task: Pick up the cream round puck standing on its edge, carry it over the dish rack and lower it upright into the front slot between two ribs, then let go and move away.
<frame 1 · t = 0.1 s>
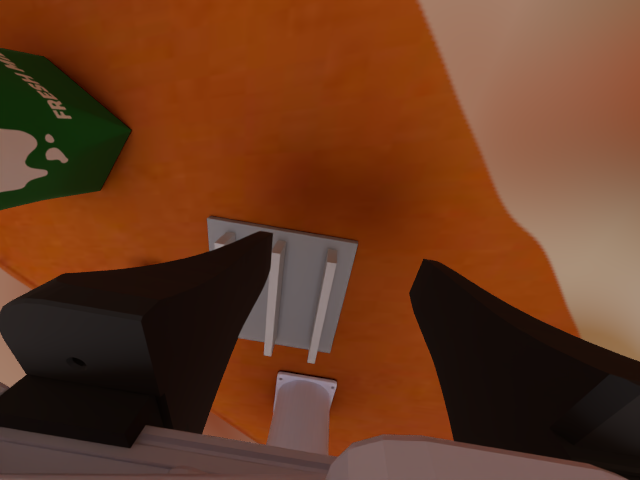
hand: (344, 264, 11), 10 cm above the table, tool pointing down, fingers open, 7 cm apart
milk carton: (78, 131, 19), on the table
dish rack: (278, 291, 25), on the table
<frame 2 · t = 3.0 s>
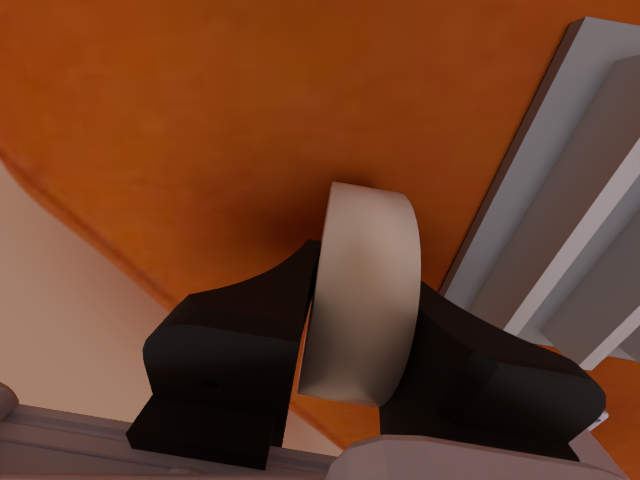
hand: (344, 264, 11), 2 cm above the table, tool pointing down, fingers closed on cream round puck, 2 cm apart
cream round puck: (342, 241, 13), on the table, touching gripper
dish rack: (610, 235, 12), on the table
when the fingers open (4 cm above the table, at t = 6.7 s): cream round puck stays where it is, resting on dish rack.
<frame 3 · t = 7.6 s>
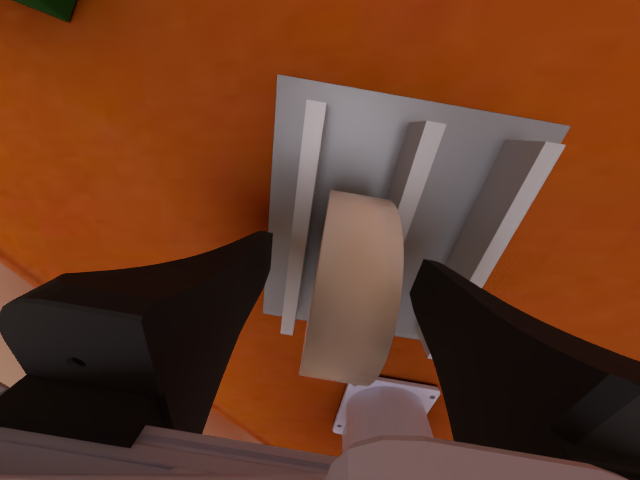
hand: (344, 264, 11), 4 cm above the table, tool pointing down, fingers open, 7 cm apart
cream round puck: (340, 242, 14), point 1 cm above the table, touching dish rack
dish rack: (379, 237, 14), on the table
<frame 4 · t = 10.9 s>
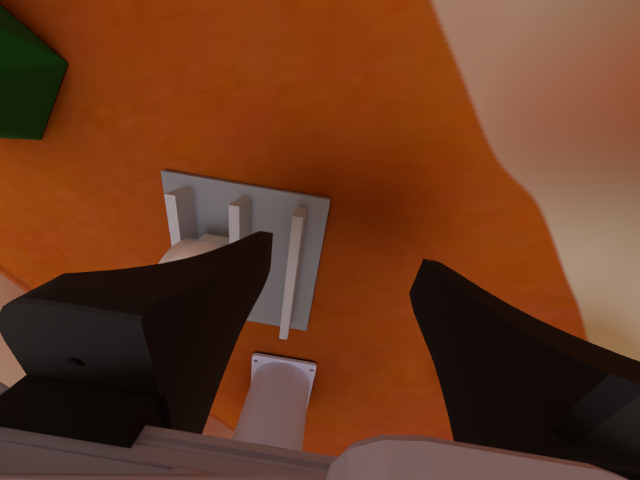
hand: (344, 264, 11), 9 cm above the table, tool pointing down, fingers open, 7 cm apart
cream round puck: (220, 263, 22), point 1 cm above the table, touching dish rack
milk carton: (9, 67, 17), on the table
dish rack: (247, 259, 22), on the table
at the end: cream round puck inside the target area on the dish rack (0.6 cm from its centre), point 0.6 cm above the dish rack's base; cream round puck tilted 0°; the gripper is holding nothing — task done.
